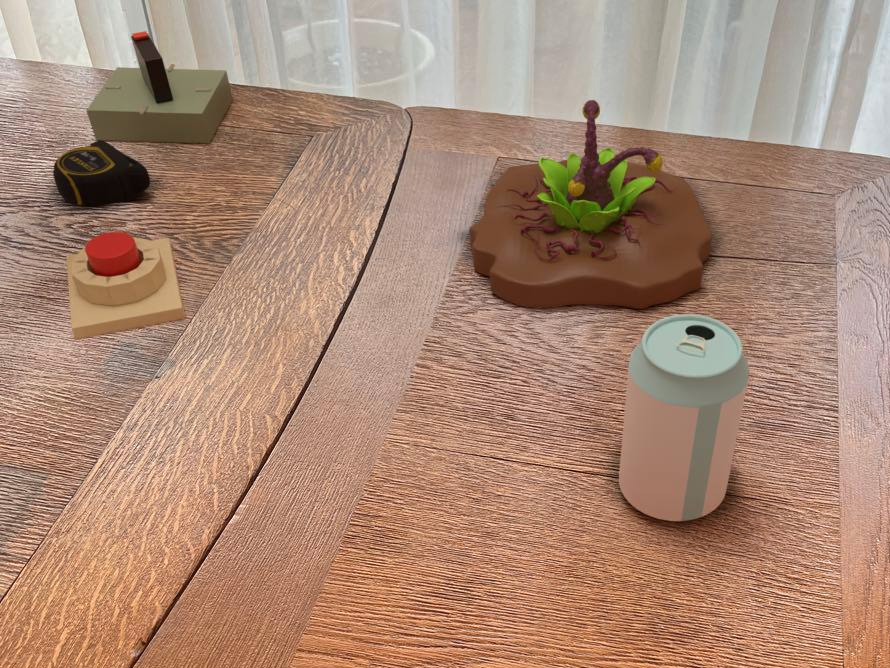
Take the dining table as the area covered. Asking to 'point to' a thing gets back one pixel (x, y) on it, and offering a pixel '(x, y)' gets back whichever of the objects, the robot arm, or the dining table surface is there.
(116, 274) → the button
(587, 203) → the plant
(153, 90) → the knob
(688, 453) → the can
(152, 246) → the button box
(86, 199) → the tape measure
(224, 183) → the dining table surface
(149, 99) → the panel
